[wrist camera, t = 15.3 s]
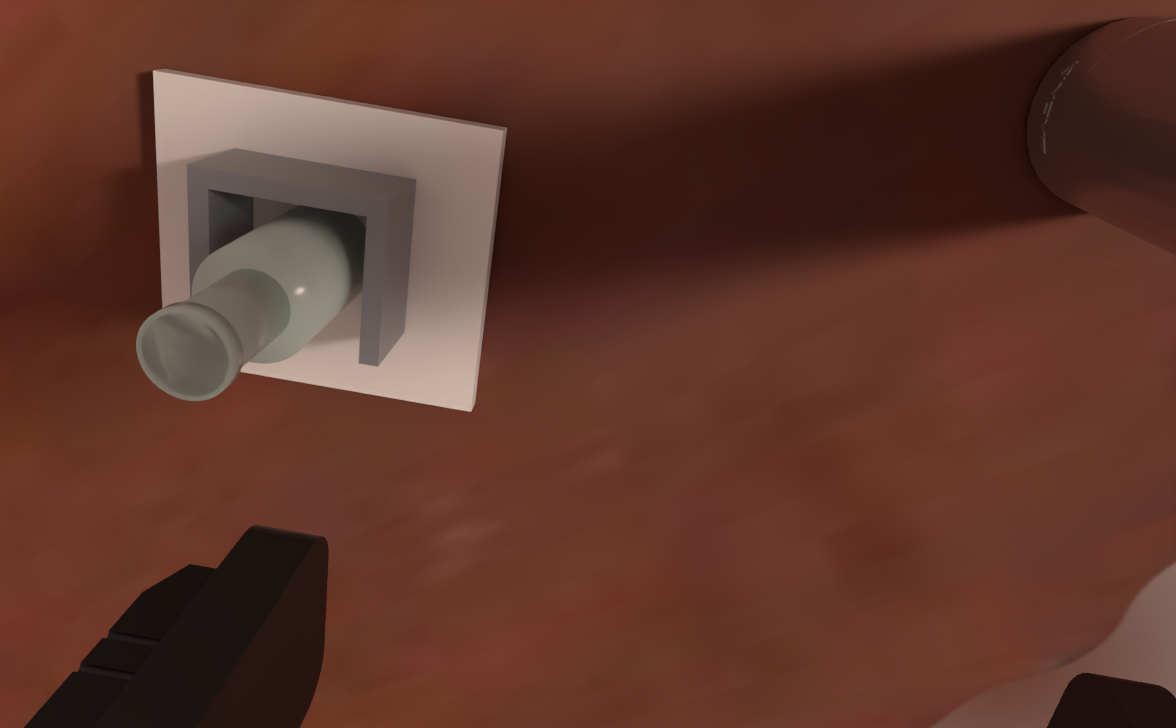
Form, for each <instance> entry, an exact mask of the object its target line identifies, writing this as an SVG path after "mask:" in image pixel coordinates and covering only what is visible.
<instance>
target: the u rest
mask: <svg viewBox="0 0 1176 728" xmlns="http://www.w3.org/2000/svg"><path fill="white" fill-rule="evenodd" d="M153 83H154V109H155V134H156V159H157V184H158V209H159V234H160V259H161V285H162V308H164V307H166V306H168V305H170V304H173V303H177V302H184V301H186V300H187V299H189V298H190V297H192V284H193V279H194V276H195V273H196V271H197V269H198V268H199V266H200V265H201V263H202V262H203V261H204V260H205V259H206V258H207V257H208V256H209V255H210V254H212V253H213V252H215V251H216V250H218V249H220V248H222V247H224V246H225V245H227V244H229V243H231V242H233V241H234V240H236V239H238V238H240V237H242V236H244V235H245V234H247V233H249V232H251V231H253V230H255V229H256V228H258V227H260V226H262V225H264V224H265V223H267V222H269V221H271V220H273V219H275V218H276V217H278V216H280V215H282V214H284V213H286V212H287V211H289V210H291V209H293V208H295V207H297V206H299V205H302V206H308V207H314V208H320V209H326V210H331V211H337V212H343V213H349V214H354V215H355V216H357V217H358V218H359V219H360V220H361V221H362V223H363V224H364V225H365V227H366V239H365V257H364V275H363V291H362V292H361V293H360V294H359V295H358V296H356V297H355V298H354V299H353V300H352V301H351V302H350V303H349V304H348V305H347V306H346V307H345V308H344V309H343V310H342V311H341V312H340V313H339V314H338V315H337V316H336V317H334V318H333V319H332V320H331V321H330V322H329V323H328V324H327V325H326V326H325V327H324V328H323V329H322V330H321V331H320V332H319V333H318V334H317V335H316V336H315V337H314V338H313V339H311V340H310V341H309V342H308V343H307V344H306V345H305V346H304V347H303V348H302V349H301V350H300V351H299V352H297V353H296V354H295V355H293V356H292V357H290V358H288V359H286V360H283V361H280V362H276V363H269V364H259V363H252V362H248V363H246V364H245V365H244V366H243V367H242V368H241V371H240V372H245V373H251V374H257V375H262V376H268V377H274V378H280V379H285V380H291V381H297V382H303V383H308V384H314V385H320V386H326V387H331V388H337V389H343V390H349V391H354V392H360V393H366V394H372V395H377V396H383V397H389V398H395V399H400V400H406V401H412V402H417V403H423V404H429V405H435V406H440V407H446V408H452V409H458V410H463V411H469V412H471V411H472V408H473V406H474V404H475V399H476V390H477V381H478V373H479V364H480V356H481V347H482V339H483V330H484V321H485V313H486V304H487V296H488V287H489V279H490V270H491V261H492V253H493V244H494V236H495V227H496V219H497V210H498V202H499V193H500V184H501V176H502V167H503V159H504V150H505V142H506V133H507V127H501V126H495V125H489V124H484V123H478V122H472V121H466V120H460V119H454V118H449V117H443V116H437V115H431V114H425V113H419V112H414V111H408V110H402V109H396V108H390V107H385V106H379V105H373V104H367V103H361V102H355V101H350V100H344V99H338V98H332V97H326V96H320V95H315V94H309V93H303V92H297V91H291V90H286V89H280V88H274V87H268V86H262V85H256V84H251V83H245V82H239V81H233V80H227V79H221V78H216V77H210V76H204V75H198V74H192V73H187V72H181V71H175V70H169V69H161V70H153Z"/></svg>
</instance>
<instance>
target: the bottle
mask: <svg viewBox="0 0 1176 728" xmlns="http://www.w3.org/2000/svg"><path fill="white" fill-rule="evenodd" d="M365 239H366V227H365V225H364V224H363V223H362V221H361V220H360V219H359V218H358V217H357V216H355V215H354V214H349V213H343V212H337V211H331V210H326V209H320V208H314V207H308V206H302V205H299V206H297V207H295V208H293V209H291V210H289V211H287V212H286V213H284V214H282V215H280V216H278V217H276V218H275V219H273V220H271V221H269V222H267V223H265V224H264V225H262V226H260V227H258V228H256V229H255V230H253V231H251V232H249V233H247V234H245V235H244V236H242V237H240V238H238V239H236V240H234V241H233V242H231V243H229V244H227V245H225V246H224V247H222V248H220V249H218V250H216V251H215V252H213V253H212V254H210V255H209V256H208V257H207V258H206V259H205V260H204V261H203V262H202V263H201V265H200V266H199V268H198V269H197V271H196V273H195V276H194V279H193V284H192V297H190V298H189V299H187V300H186V301H184V302H177V303H173V304H170V305H168V306H166V307H164V308H162V309H161V310H159V311H157V312H156V313H154V314H152V315H151V316H149V317H148V318H147V319H146V320H145V321H144V323H143V324H142V325H141V327H140V329H139V332H138V335H137V340H136V350H137V356H138V359H139V362H140V364H141V367H142V368H143V370H144V372H145V373H146V375H147V376H148V377H149V379H150V380H151V381H152V382H153V383H154V384H155V385H156V386H157V387H159V388H160V389H161V390H163V391H164V392H166V393H168V394H170V395H172V396H174V397H177V398H179V399H183V400H189V401H202V400H207V399H210V398H213V397H215V396H217V395H218V394H220V393H221V392H222V391H223V390H224V389H226V388H227V387H228V386H229V385H230V384H231V383H232V382H234V380H235V379H236V378H237V376H238V375H239V373H240V371H241V368H242V367H243V366H244V365H245V364H246V363H248V362H252V363H259V364H269V363H276V362H280V361H283V360H286V359H288V358H290V357H292V356H293V355H295V354H296V353H297V352H299V351H300V350H301V349H302V348H303V347H304V346H305V345H306V344H307V343H308V342H309V341H310V340H311V339H313V338H314V337H315V336H316V335H317V334H318V333H319V332H320V331H321V330H322V329H323V328H324V327H325V326H326V325H327V324H328V323H329V322H330V321H331V320H332V319H333V318H334V317H336V316H337V315H338V314H339V313H340V312H341V311H342V310H343V309H344V308H345V307H346V306H347V305H348V304H349V303H350V302H351V301H352V300H353V299H354V298H355V297H356V296H358V295H359V294H360V293H361V292H362V291H363V275H364V257H365Z"/></svg>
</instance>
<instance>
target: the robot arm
mask: <svg viewBox="0 0 1176 728" xmlns="http://www.w3.org/2000/svg"><path fill="white" fill-rule="evenodd" d="M1027 147H1028V152H1029V157H1030V161H1031V163H1032V165H1033V167H1034V170H1035V172H1036V174H1037V176H1038V178H1039V179H1040V180H1041V181H1042V182H1043V184H1044V185H1045V186H1046V187H1047V188H1048V190H1049V191H1051V192H1052V193H1053V194H1055V195H1056V196H1057V197H1059V198H1060V199H1062V200H1063V201H1065V202H1067V203H1069V204H1071V205H1073V206H1075V207H1077V208H1079V209H1081V210H1083V211H1086V212H1088V213H1090V214H1092V215H1094V216H1096V217H1098V218H1099V219H1101V220H1103V221H1106V222H1108V223H1110V224H1112V225H1114V226H1116V227H1118V228H1120V229H1122V230H1124V231H1126V232H1128V233H1131V234H1133V235H1135V236H1137V237H1139V238H1141V239H1143V240H1145V241H1147V242H1149V243H1151V244H1153V245H1155V246H1158V247H1160V248H1162V249H1164V250H1166V251H1168V252H1170V253H1172V254H1174V255H1176V17H1166V16H1149V17H1132V18H1128V19H1124V20H1120V21H1116V22H1112V23H1110V24H1107V25H1105V26H1103V27H1101V28H1099V29H1097V30H1095V31H1092V32H1090V33H1089V34H1087V35H1086V36H1085V37H1083V38H1082V39H1080V40H1079V41H1077V42H1076V43H1075V44H1073V45H1072V46H1070V48H1069V49H1068V50H1067V51H1066V52H1065V53H1064V54H1063V55H1062V56H1061V57H1060V58H1059V59H1058V60H1057V61H1056V62H1055V63H1054V64H1053V65H1052V67H1051V68H1050V70H1049V71H1048V72H1047V74H1046V75H1045V77H1044V78H1043V80H1042V81H1041V83H1040V85H1039V87H1038V90H1037V92H1036V94H1035V96H1034V98H1033V101H1032V104H1031V108H1030V112H1029V116H1028V120H1027ZM327 577H328V543H327V540H326V538H325V537H322V536H316V535H311V534H305V533H299V532H294V531H288V530H282V529H276V528H271V527H265V526H259V525H254V526H252V527H250V528H249V529H248V530H247V531H246V532H245V533H244V534H243V536H242V537H241V538H240V540H239V541H238V542H237V543H236V545H235V546H234V547H233V549H232V550H231V551H230V552H229V554H228V555H227V556H226V558H225V559H224V560H223V561H222V563H221V564H220V565H219V566H218V568H217V569H215V568H209V567H203V566H198V565H192V564H189V565H188V566H186V567H184V568H183V569H181V570H179V571H178V572H176V573H174V574H173V575H171V576H169V577H168V578H166V579H164V580H162V581H161V582H159V583H157V584H156V585H154V586H152V587H151V588H149V589H147V590H146V591H144V592H142V593H141V595H140V596H139V597H138V598H137V599H136V600H135V601H134V603H133V604H132V605H131V606H130V607H129V608H128V609H127V611H126V612H125V613H124V614H123V615H122V616H121V617H120V619H119V620H118V621H117V622H116V623H115V624H114V625H113V627H112V628H111V629H110V630H109V634H108V637H107V638H106V639H105V638H102V639H101V640H100V641H99V643H98V644H97V645H96V646H95V647H94V648H93V649H92V651H91V652H90V653H89V654H88V655H87V656H86V657H85V658H84V660H83V661H82V662H81V665H80V668H79V670H78V672H74V671H73V672H72V673H71V674H70V676H69V677H68V678H67V679H66V680H65V681H64V682H63V684H62V685H61V686H60V687H59V688H58V689H57V690H56V692H55V693H54V694H53V695H52V696H51V697H50V698H49V700H48V701H47V702H46V703H45V704H44V705H43V706H42V708H41V709H40V710H39V711H38V712H37V713H36V714H35V716H34V717H33V718H32V719H31V720H30V721H29V722H28V724H27V725H26V726H25V727H24V728H300V726H301V724H302V722H303V720H304V718H305V716H306V713H307V711H308V709H309V707H310V704H311V702H312V699H313V696H314V693H315V690H316V687H317V684H318V680H319V676H320V672H321V667H322V662H323V655H324V642H325V620H326V599H327ZM1047 728H1176V698H1175V697H1174V696H1173V695H1172V693H1170V692H1169V691H1168V690H1167V689H1165V688H1163V687H1161V686H1158V685H1154V684H1148V683H1143V682H1137V681H1131V680H1125V679H1120V678H1114V677H1108V676H1103V675H1097V674H1091V673H1082V674H1079V675H1077V676H1076V677H1074V678H1073V679H1072V680H1071V681H1070V683H1069V684H1068V686H1067V687H1066V689H1065V691H1064V693H1063V695H1062V697H1061V699H1060V702H1059V704H1058V706H1057V708H1056V710H1055V712H1054V714H1053V716H1052V718H1051V720H1050V722H1049V724H1048V726H1047Z"/></svg>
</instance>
